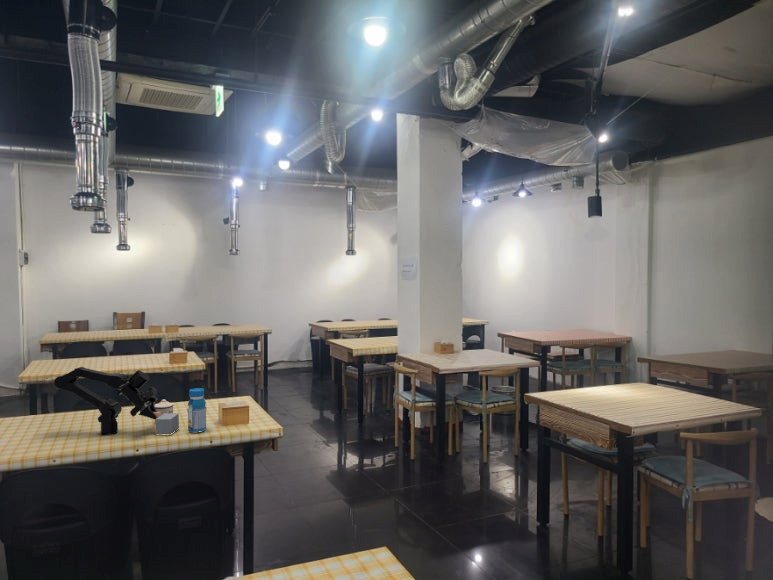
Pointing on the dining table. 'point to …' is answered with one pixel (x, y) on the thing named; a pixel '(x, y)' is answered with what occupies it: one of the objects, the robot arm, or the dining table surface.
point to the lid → (165, 416)
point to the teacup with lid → (164, 407)
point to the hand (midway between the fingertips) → (157, 418)
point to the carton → (167, 425)
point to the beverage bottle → (196, 410)
